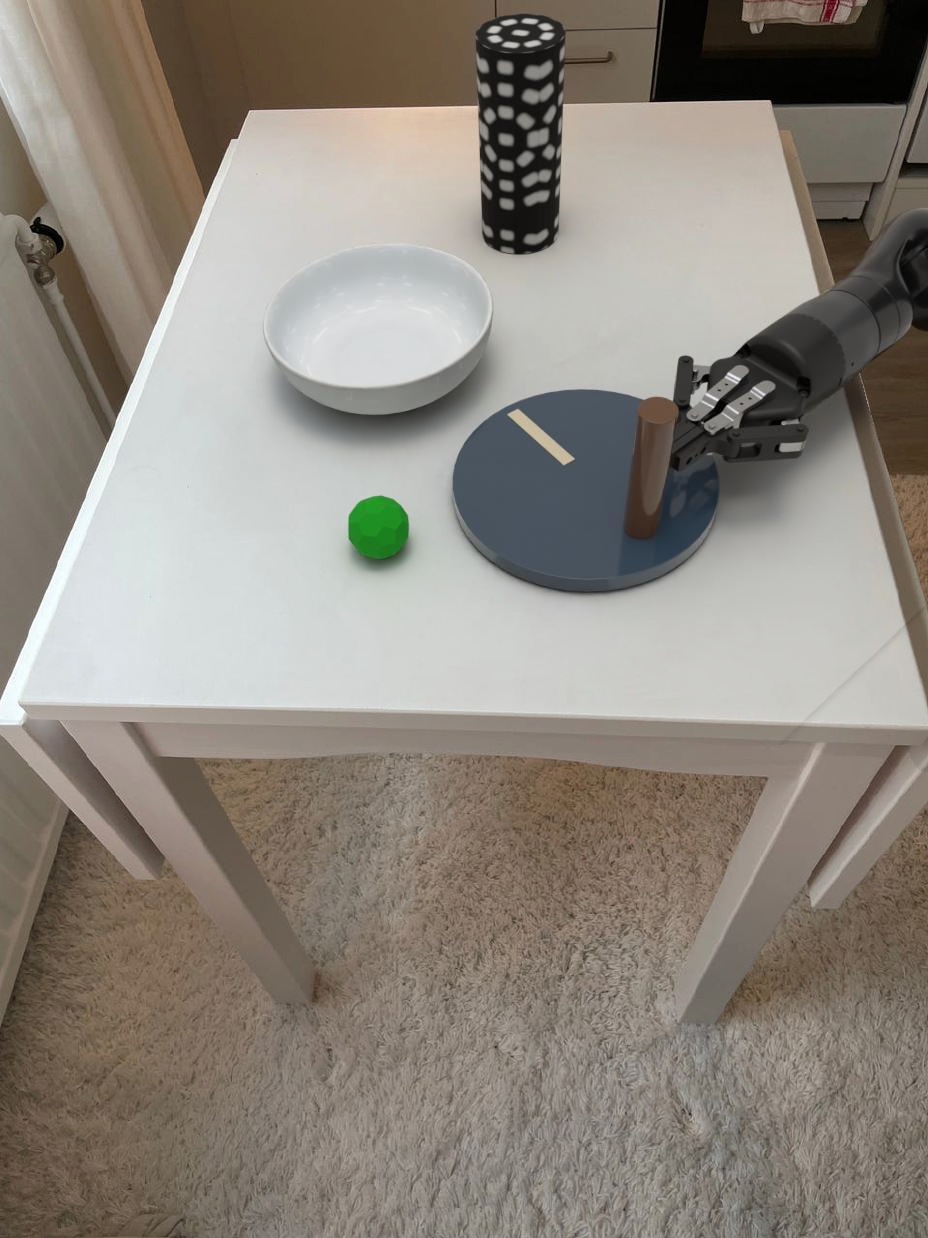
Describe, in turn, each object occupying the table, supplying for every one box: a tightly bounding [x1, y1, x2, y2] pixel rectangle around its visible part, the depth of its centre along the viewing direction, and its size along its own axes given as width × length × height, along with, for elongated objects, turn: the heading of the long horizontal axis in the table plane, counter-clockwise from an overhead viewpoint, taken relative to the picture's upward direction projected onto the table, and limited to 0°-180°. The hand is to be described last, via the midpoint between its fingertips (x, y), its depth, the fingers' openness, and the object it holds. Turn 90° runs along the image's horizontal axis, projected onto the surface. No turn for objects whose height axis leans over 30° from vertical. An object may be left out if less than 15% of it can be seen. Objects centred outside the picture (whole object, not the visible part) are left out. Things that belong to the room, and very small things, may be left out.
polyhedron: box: [347, 494, 410, 560], centre depth 76 cm, size 5×5×5 cm
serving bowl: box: [262, 242, 494, 416], centre depth 88 cm, size 21×21×7 cm
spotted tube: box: [475, 13, 567, 255], centre depth 96 cm, size 8×8×20 cm
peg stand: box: [452, 388, 721, 592], centre depth 75 cm, size 22×22×14 cm
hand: (661, 460), depth 71 cm, fingers closed
